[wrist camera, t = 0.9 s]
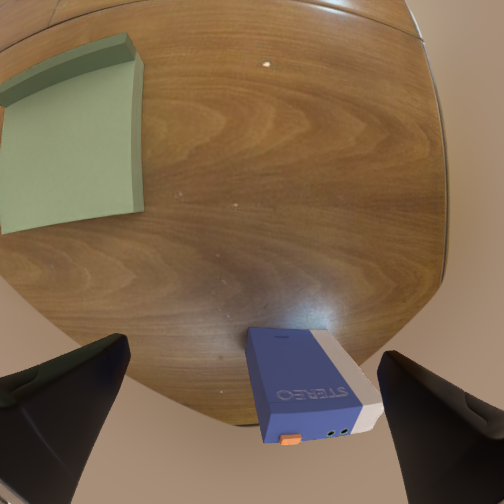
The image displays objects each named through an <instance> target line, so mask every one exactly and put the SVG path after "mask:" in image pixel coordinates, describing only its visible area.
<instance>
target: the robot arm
mask: <svg viewBox="0 0 504 504" xmlns="http://www.w3.org/2000/svg"><path fill="white" fill-rule="evenodd" d="M130 358H131V353H130V348H129V344H128V339H127V336H126V335H124V334H119V333H114V334H112V335H109V336H107V337H105V338H102V339H100V340H98V341H95V342H93V343H90V344H88V345H86V346H83V347H81V348H78V349H76V350H73V351H71V352H69V353H67V354H64V355H61V356H59V357H56V358H54V359H52V360H49V361H46V362H44V363H42V364H40V365H37V366H34V367H31V368H29V369H26V370H23V371H20V372H17V373H14V374H11V375H7V376H4V377H1V378H0V504H71V501H72V498H73V496H74V493H75V490H76V487H77V485H78V482H79V480H80V477H81V475H82V472H83V470H84V467H85V465H86V463H87V460H88V458H89V455H90V453H91V451H92V448H93V446H94V443H95V441H96V439H97V437H98V435H99V433H100V430H101V428H102V426H103V424H104V422H105V419H106V417H107V415H108V413H109V411H110V409H111V407H112V405H113V403H114V401H115V398H116V396H117V394H118V392H119V389H120V387H121V384H122V381H123V378H124V375H125V372H126V370H127V367H128V364H129V361H130ZM377 377H378V381H379V386H380V391H381V396H382V402H383V407H384V411H385V414H386V417H387V420H388V424H389V428H390V431H391V434H392V438H393V441H394V445H395V449H396V452H397V456H398V460H399V464H400V468H401V472H402V476H403V481H404V485H405V489H406V494H407V498H408V504H504V411H503V410H501V409H499V408H496V407H494V406H492V405H490V404H488V403H486V402H483V401H482V400H480V399H478V398H476V397H474V396H473V395H470V394H469V393H467V392H464V391H463V390H462V389H460V388H459V387H457V386H455V385H453V384H452V383H450V382H448V381H446V380H445V379H443V378H441V377H440V376H438V375H436V374H434V373H433V372H431V371H429V370H428V369H426V368H424V367H423V366H421V365H419V364H417V363H416V362H414V361H412V360H411V359H409V358H407V357H405V356H404V355H402V354H400V353H399V352H397V351H395V350H393V351H385V352H384V353H383V356H382V358H381V361H380V364H379V367H378V370H377Z"/></svg>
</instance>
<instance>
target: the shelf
mask: <svg viewBox="0 0 504 504" xmlns="http://www.w3.org/2000/svg"><path fill="white" fill-rule="evenodd" d="M143 73H144V64H143V62H142V60H141V58H140V56H139V54H138V52H137V51H136V49H135V47H134V45H133V43H132V41H131V39H130V38H129V36H128V34H127V32H125V33H121V34H117V35H114V36H110V37H107V38H103V39H100V40H97V41H94V42H91V43H88V44H85V45H82V46H79V47H76V48H74V49H71V50H69V51H66V52H63V53H61V54H59V55H56V56H54V57H52V58H49V59H47V60H45V61H43V62H41V63H39V64H37V65H35V66H33V67H31V68H29V69H27V70H25V71H23V72H21V73H19V74H17V75H16V76H14V77H12V78H10V79H9V80H7V81H5V82H4V83H2V84H0V105H1V106H3V107H6V109H5V115H4V122H3V129H2V138H1V149H0V222H1V233H2V234H6V233H11V232H17V231H22V230H27V229H31V228H37V227H42V226H48V225H53V224H59V223H65V222H71V221H77V220H84V219H90V218H97V217H104V216H111V215H119V214H127V213H135V212H143V211H144V198H143V181H142V153H141V116H142V89H143Z"/></svg>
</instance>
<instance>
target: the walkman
mask: <svg viewBox="0 0 504 504" xmlns="http://www.w3.org/2000/svg"><path fill="white" fill-rule="evenodd" d="M245 354H246V359H247V365H248V370H249V375H250V380H251V385H252V390H253V395H254V400H255V405H256V410H257V415H258V420H259V425H260V430H261V434H262V439H263V443H280V444H281V445H289V444H299V443H300V441H307V440H316V439H323V438H331V437H338V436H344V435H350V434H353V433H359V432H364V431H369V430H372V428H373V426H374V424H375V422H376V420H377V418H378V417H379V416H381V414H382V412H383V410H384V407H383V402H382V396H381V394H380V393H379V392H378V391H377V390H376V388H375V387H374V386H373V385H372V383H371V382H370V381H369V380H368V379H367V377H366V376H365V375H364V374H363V371H362V370H361V369H360V368H359V366H358V365H357V364H356V363H355V362H354V361H353V359H352V358H351V357H350V356H349V355H348V353H347V352H346V351H345V350H344V349H343V348H342V346H341V345H340V344H339V343H338V342H337V341H336V339H335V338H334V337H333V336H332V335H331V333H330V332H329V331H328V330H298V329H271V328H253V327H249V328H248V335H247V343H246V350H245Z"/></svg>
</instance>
